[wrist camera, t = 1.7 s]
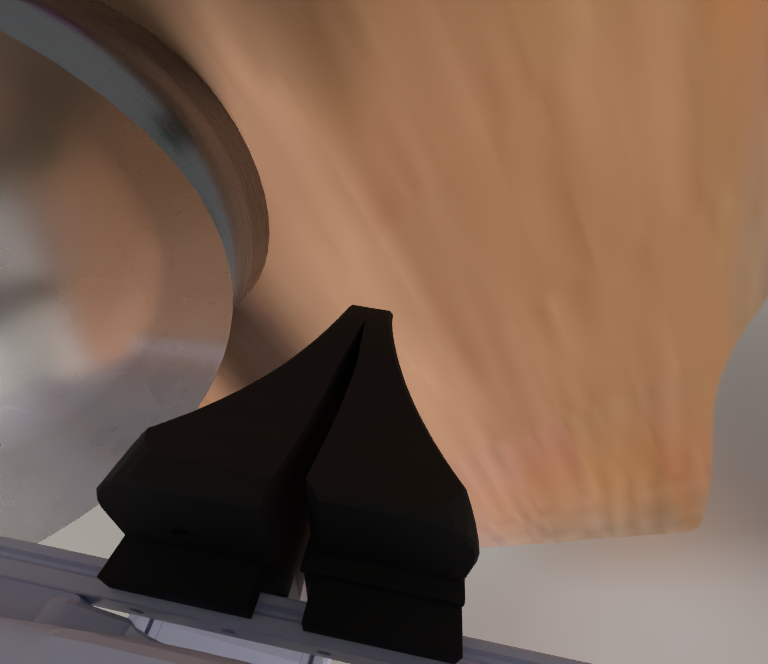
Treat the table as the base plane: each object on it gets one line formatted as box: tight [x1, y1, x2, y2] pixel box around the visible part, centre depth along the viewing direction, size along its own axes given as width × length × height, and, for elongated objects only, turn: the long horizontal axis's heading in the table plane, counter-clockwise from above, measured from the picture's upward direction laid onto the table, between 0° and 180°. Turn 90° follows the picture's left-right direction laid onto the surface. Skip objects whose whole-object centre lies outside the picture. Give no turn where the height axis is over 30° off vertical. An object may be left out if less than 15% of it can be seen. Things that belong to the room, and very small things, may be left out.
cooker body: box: [0, 0, 269, 310], centre depth 16 cm, size 19×16×5 cm
